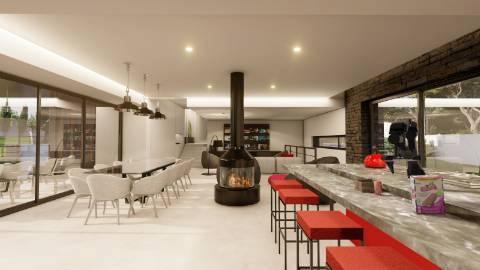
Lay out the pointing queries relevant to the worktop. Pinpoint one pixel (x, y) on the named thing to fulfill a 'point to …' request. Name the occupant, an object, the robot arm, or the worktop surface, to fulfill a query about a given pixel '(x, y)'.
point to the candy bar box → (427, 194)
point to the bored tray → (366, 185)
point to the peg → (377, 187)
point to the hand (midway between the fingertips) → (401, 173)
